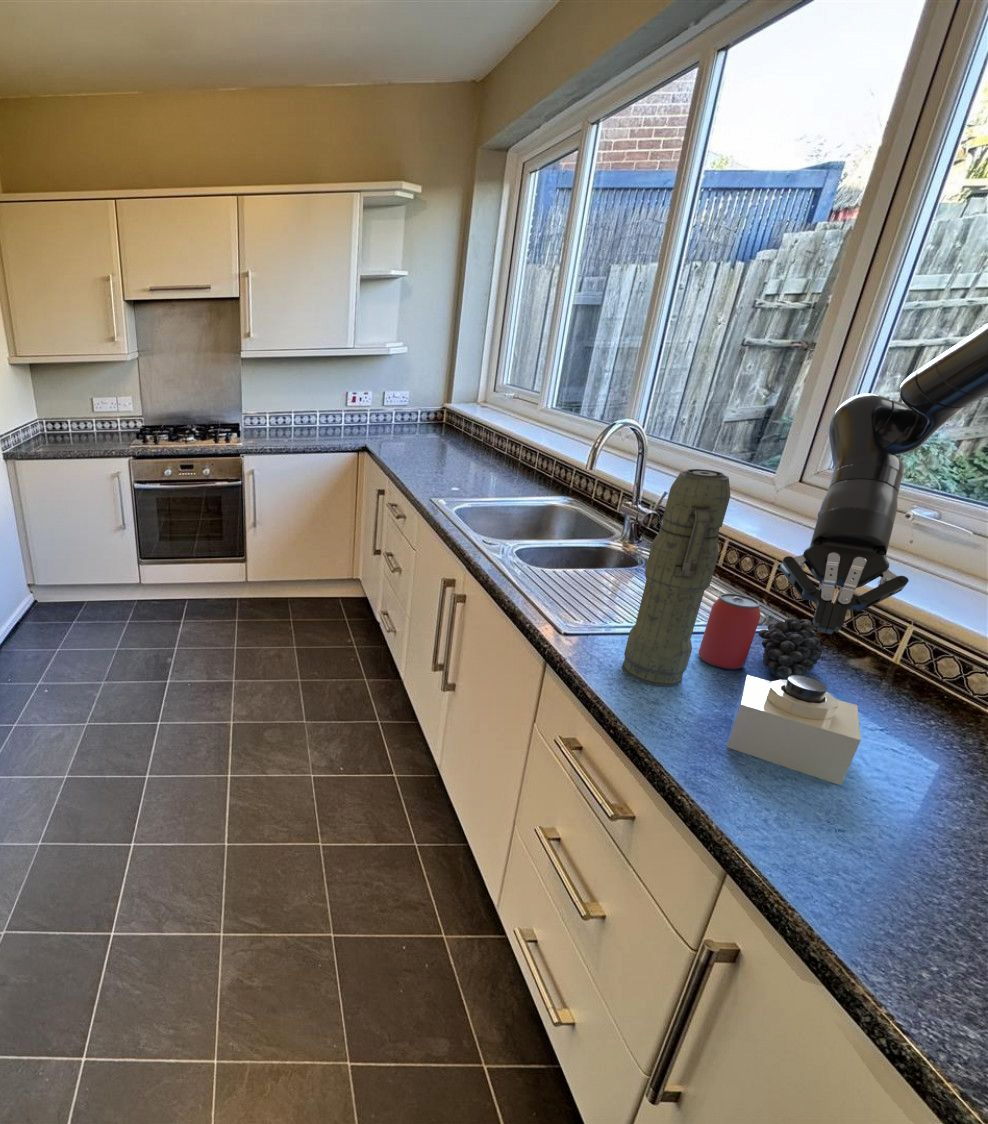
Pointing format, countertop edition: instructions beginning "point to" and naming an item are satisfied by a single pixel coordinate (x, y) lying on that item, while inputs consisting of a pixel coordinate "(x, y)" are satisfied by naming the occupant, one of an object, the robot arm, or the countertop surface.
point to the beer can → (730, 631)
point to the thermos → (677, 578)
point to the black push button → (805, 689)
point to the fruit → (790, 647)
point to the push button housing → (795, 730)
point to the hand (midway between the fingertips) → (825, 630)
